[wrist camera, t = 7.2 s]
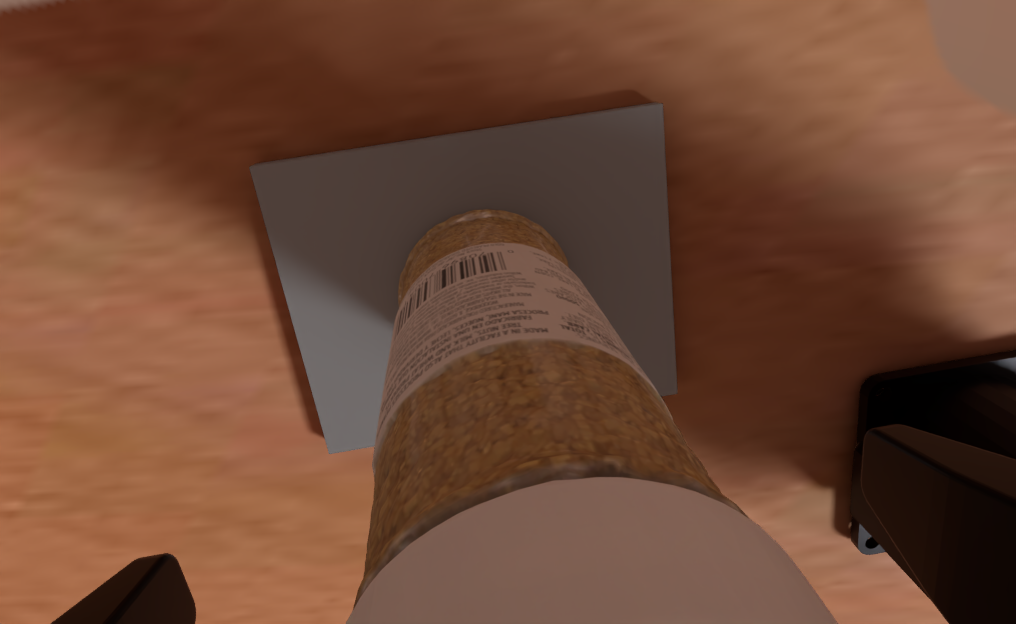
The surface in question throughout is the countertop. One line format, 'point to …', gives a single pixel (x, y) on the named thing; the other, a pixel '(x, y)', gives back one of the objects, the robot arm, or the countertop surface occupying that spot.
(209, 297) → the countertop surface
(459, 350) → the sprinkles bottle
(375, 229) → the grey mat
